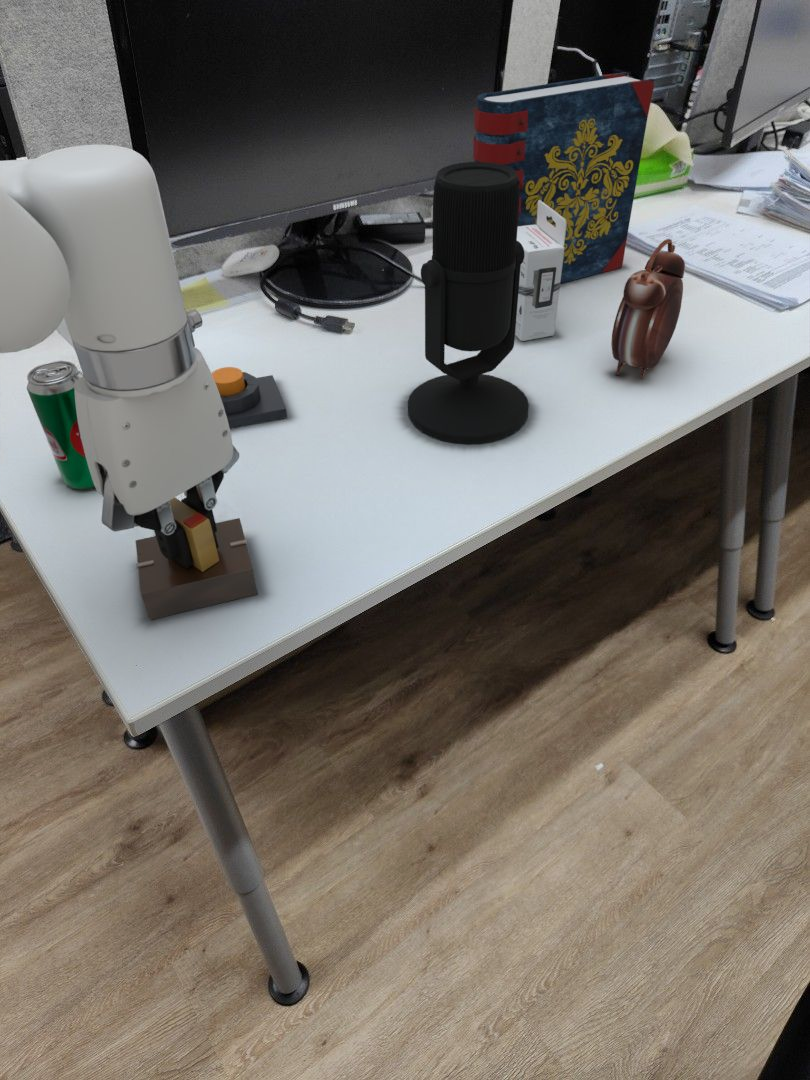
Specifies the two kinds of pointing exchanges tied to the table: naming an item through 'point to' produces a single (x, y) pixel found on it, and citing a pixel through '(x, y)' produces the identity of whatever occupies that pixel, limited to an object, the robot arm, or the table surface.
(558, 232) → the ink box
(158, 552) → the plate
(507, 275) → the microphone
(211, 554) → the lock knob
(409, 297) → the table surface
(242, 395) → the block
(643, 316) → the alarm clock
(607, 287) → the table surface
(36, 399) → the soda can
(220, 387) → the bell button
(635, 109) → the book
